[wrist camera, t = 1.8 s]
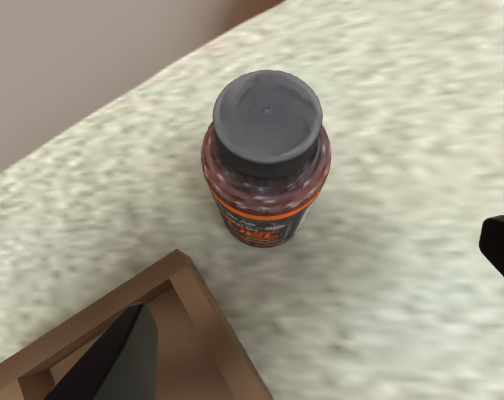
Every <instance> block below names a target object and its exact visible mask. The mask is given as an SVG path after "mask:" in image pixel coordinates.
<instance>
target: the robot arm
mask: <svg viewBox="0 0 504 400" xmlns="http://www.w3.org/2000/svg"><path fill="white" fill-rule="evenodd" d="M479 248H480V251H481V252H482V254H483V255H484V256H485V257H486V258H487V259H488V260H489V261H490V262H491V264H492V265H493V266H494V267H495V268H496V269H497V270H498V271H499V272H500V273H501V274H502V275H503V277H504V215H499V216H495V217H491V218H487V219H486V220H485V221H484V222H483V224H482V229H481V235H480V240H479ZM157 350H158V328H157V324H156V322H155V320H154V318H153V315H152V313H151V311H150V309H149V307H148V305H147V304H146V303H145V302H140V303H136V304H132V305H129V306H127V307H126V308H125V309H124V310H123V312H122V313H121V314H120V315H119V316H118V317H117V318H116V319H115V320H114V321H113V322H112V324H111V325H110V326H109V327H108V328H107V329H106V330H105V331H104V332H103V333H102V335H101V336H100V337H99V338H98V339H97V340H96V341H95V342H94V343H93V344H92V346H91V347H90V348H89V349H88V350H87V351H86V352H85V353H84V354H83V355H82V357H81V358H80V359H79V360H78V361H77V362H76V363H75V364H74V365H73V366H72V368H71V369H70V370H69V371H68V372H67V373H66V374H65V375H64V376H63V377H62V379H61V380H60V381H59V382H58V383H57V384H56V385H55V386H54V387H53V388H52V389H51V391H50V392H49V393H48V394H47V395H46V396H45V397H44V398H43V399H42V400H155V395H156V375H157Z"/></svg>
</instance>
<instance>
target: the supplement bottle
mask: <svg viewBox="0 0 504 400" xmlns="http://www.w3.org/2000/svg"><path fill="white" fill-rule="evenodd" d="M322 118H323V115H322V108H321V105H320V102H319V99H318V97H317V96H316V94H315V93H314V91H313V90H312V89H311V88H310V87H309V86H308V85H307V84H306V83H305V82H304V81H302V80H301V79H299V78H298V77H296V76H293V75H292V74H289V73H285V72H282V71H272V70H260V71H255V72H250V73H248V74H244V75H242V76H240V77H239V78H237V79H235V80H233V81H232V82H231V83H229V84H228V85H227V86H226V87H225V88H224V89H223V90H222V92H221V93H220V94H219V96H218V98H217V100H216V103H215V106H214V109H213V121H212V123H211V124H210V126H209V127H208V130H207V132H206V134H205V137H204V140H203V144H202V151H201V161H202V167H203V172H204V176H205V179H206V181H207V183H208V186H209V188H210V191H211V193H212V195H213V197H214V200H215V202H216V204H217V206H218V209H219V211H220V214H221V216H222V218H223V220H224V222H225V225H226V226H227V227H228V229H229V230H230V232H231V233H232V234H233V235H234V236H235V237H236V238H237V239H239V240H240V241H242V242H243V243H245V244H248V245H250V246H253V247H260V248H269V247H275V246H278V245H280V244H283V243H285V242H286V241H288V240H289V239H291V238H292V237H293V236H294V235H295V234H296V232H297V231H298V230H299V229H300V227H301V226H302V224H303V222H304V220H305V218H306V216H307V215H308V213H309V211H310V209H311V207H312V205H313V204H314V202H315V200H316V198H317V196H318V194H319V192H320V190H321V188H322V187H323V185H324V183H325V180H326V178H327V176H328V172H329V169H330V162H331V147H330V142H329V139H328V135H327V133H326V130H325V128H324V127H323V125H322Z"/></svg>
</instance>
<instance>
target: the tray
mask: <svg viewBox="0 0 504 400" xmlns="http://www.w3.org/2000/svg"><path fill="white" fill-rule="evenodd" d="M140 302H145V303H146V304H147V305H148V307H149V309H150V311H151V313H152V315H153V318H154V320H155V322H156V324H157V328H158V350H157V375H156V395H155V400H274V399H273V397H272V396H271V394H270V392H269V391H268V389H267V387H266V386H265V384H264V382H263V380H262V379H261V377H260V375H259V374H258V372H257V370H256V369H255V367H254V365H253V364H252V362H251V360H250V359H249V357H248V355H247V353H246V352H245V350H244V348H243V347H242V345H241V343H240V342H239V340H238V338H237V337H236V335H235V333H234V332H233V330H232V328H231V326H230V325H229V323H228V321H227V320H226V318H225V316H224V315H223V313H222V311H221V310H220V308H219V306H218V305H217V303H216V301H215V299H214V298H213V296H212V294H211V293H210V291H209V289H208V288H207V286H206V284H205V283H204V281H203V279H202V278H201V276H200V274H199V272H198V271H197V269H196V267H195V266H194V264H193V262H192V261H191V259H190V257H189V256H187V255H186V254H184V253H182V252H181V251H179V250H178V249H176V250H175V251H173V252H172V253H170V254H169V255H167V256H166V257H164V258H162V259H161V260H159V261H158V262H156V263H155V264H153V265H152V266H150V267H149V268H147V269H145V270H144V271H142V272H141V273H139V274H138V275H136V276H135V277H133V278H132V279H130V280H128V281H127V282H125V283H124V284H122V285H121V286H119V287H118V288H116V289H115V290H113V291H111V292H110V293H108V294H107V295H105V296H104V297H102V298H101V299H99V300H98V301H96V302H94V303H93V304H91V305H90V306H88V307H87V308H85V309H84V310H82V311H81V312H79V313H77V314H76V315H74V316H73V317H71V318H70V319H68V320H67V321H65V322H64V323H62V324H60V325H59V326H57V327H56V328H54V329H53V330H51V331H50V332H48V333H47V334H45V335H43V336H42V337H40V338H39V339H37V340H36V341H34V342H33V343H31V344H30V345H28V346H26V347H25V348H23V349H22V350H20V351H19V352H17V353H16V354H14V355H13V356H11V357H9V358H8V359H6V360H5V361H3V362H2V363H0V400H42V399H43V398H44V397H45V396H46V395H47V394H48V393H49V392H50V391H51V389H52V388H53V387H54V386H55V385H56V384H57V383H58V382H59V381H60V380H61V379H62V377H63V376H64V375H65V374H66V373H67V372H68V371H69V370H70V369H71V368H72V366H73V365H74V364H75V363H76V362H77V361H78V360H79V359H80V358H81V357H82V355H83V354H84V353H85V352H86V351H87V350H88V349H89V348H90V347H91V346H92V344H93V343H94V342H95V341H96V340H97V339H98V338H99V337H100V336H101V335H102V333H103V332H104V331H105V330H106V329H107V328H108V327H109V326H110V325H111V324H112V322H113V321H114V320H115V319H116V318H117V317H118V316H119V315H120V314H121V313H122V312H123V310H124V309H125V308H126V307H127V306H129V305H132V304H136V303H140Z"/></svg>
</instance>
